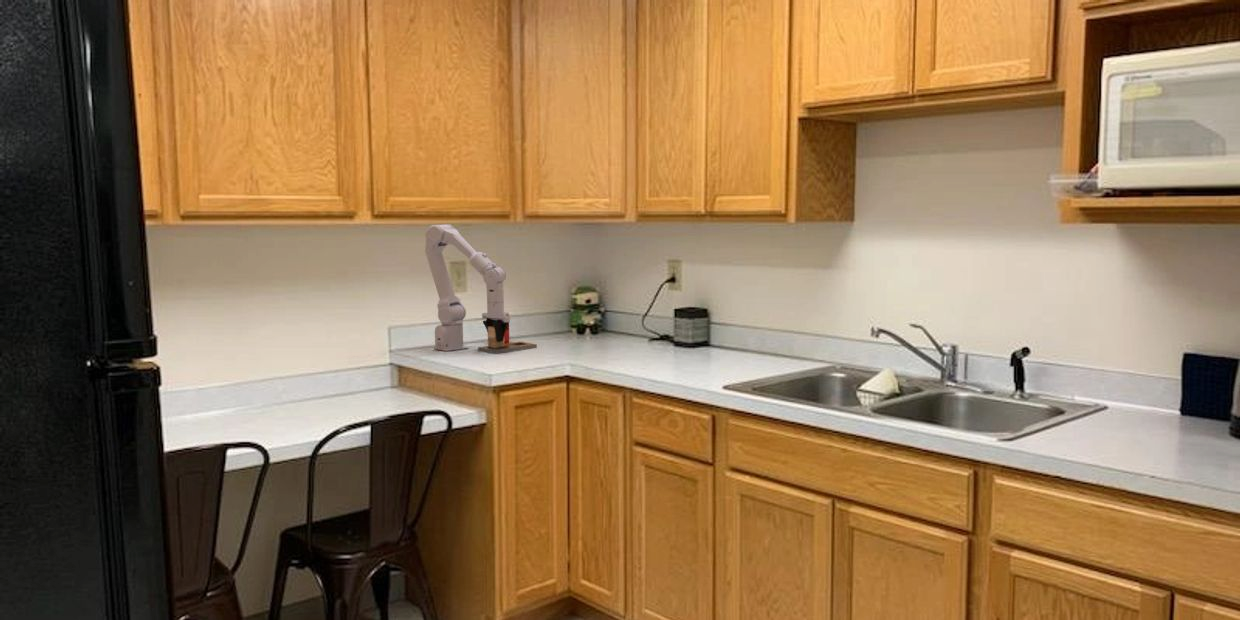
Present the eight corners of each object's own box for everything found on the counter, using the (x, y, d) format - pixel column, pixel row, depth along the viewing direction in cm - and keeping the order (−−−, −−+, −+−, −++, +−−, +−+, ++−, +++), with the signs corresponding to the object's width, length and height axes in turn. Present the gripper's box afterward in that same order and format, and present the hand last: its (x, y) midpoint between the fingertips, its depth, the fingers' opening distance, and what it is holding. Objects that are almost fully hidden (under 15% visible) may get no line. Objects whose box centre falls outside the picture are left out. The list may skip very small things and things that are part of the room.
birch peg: (494, 347, 313) (494, 327, 312) (488, 346, 316) (487, 326, 315) (504, 346, 316) (504, 326, 315) (498, 345, 319) (497, 325, 318)
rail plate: (493, 353, 309) (493, 350, 309) (478, 350, 317) (477, 346, 317) (536, 347, 321) (536, 344, 321) (520, 344, 329) (520, 341, 329)
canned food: (513, 341, 336) (512, 312, 334) (499, 344, 329) (499, 314, 328) (497, 340, 340) (496, 311, 338) (483, 343, 333) (482, 313, 332)
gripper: (516, 302, 311) (517, 341, 313) (493, 299, 322) (494, 337, 324) (499, 304, 307) (500, 344, 308) (476, 301, 318) (477, 339, 319)
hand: (496, 340), depth 316 cm, fingers closed on birch peg, 4 cm apart
